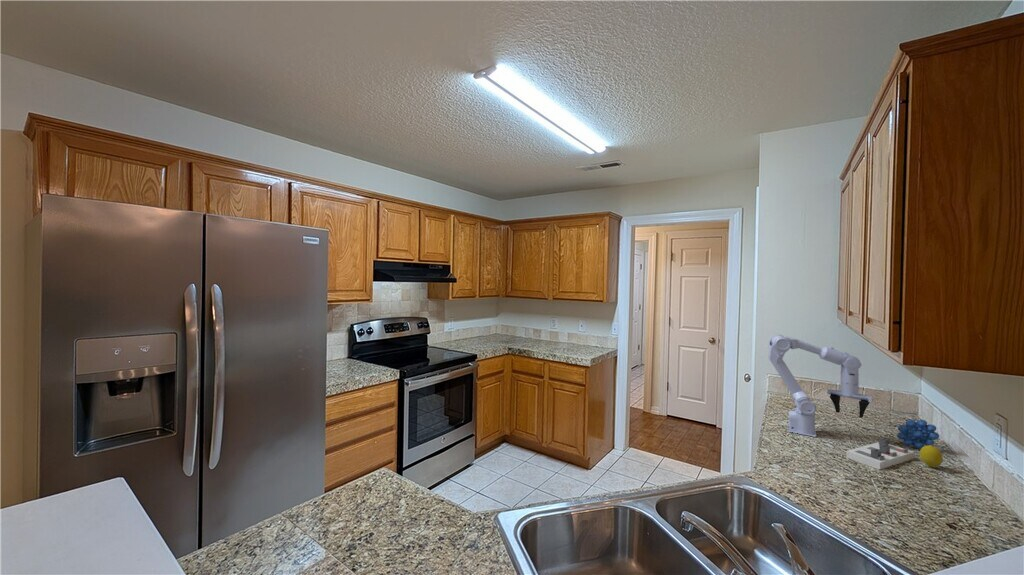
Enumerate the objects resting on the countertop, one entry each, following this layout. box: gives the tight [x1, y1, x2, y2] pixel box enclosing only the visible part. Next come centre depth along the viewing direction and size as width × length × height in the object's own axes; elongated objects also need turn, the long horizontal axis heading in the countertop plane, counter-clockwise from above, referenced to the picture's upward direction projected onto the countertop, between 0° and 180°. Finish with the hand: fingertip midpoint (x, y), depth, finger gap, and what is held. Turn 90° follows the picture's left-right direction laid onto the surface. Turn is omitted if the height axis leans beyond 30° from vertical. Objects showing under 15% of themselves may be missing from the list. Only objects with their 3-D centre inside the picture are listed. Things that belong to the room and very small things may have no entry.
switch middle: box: [879, 444, 890, 454], centre depth 141 cm, size 2×2×3 cm
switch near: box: [871, 449, 881, 459], centre depth 137 cm, size 2×2×3 cm
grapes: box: [896, 419, 940, 450], centre depth 151 cm, size 12×7×12 cm, turn 50°
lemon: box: [919, 445, 944, 468], centre depth 135 cm, size 6×6×8 cm
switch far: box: [878, 436, 890, 446], centre depth 148 cm, size 2×2×3 cm
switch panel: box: [846, 441, 915, 470], centre depth 143 cm, size 23×10×4 cm, turn 112°
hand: (849, 414), depth 160 cm, fingers open, 7 cm apart
